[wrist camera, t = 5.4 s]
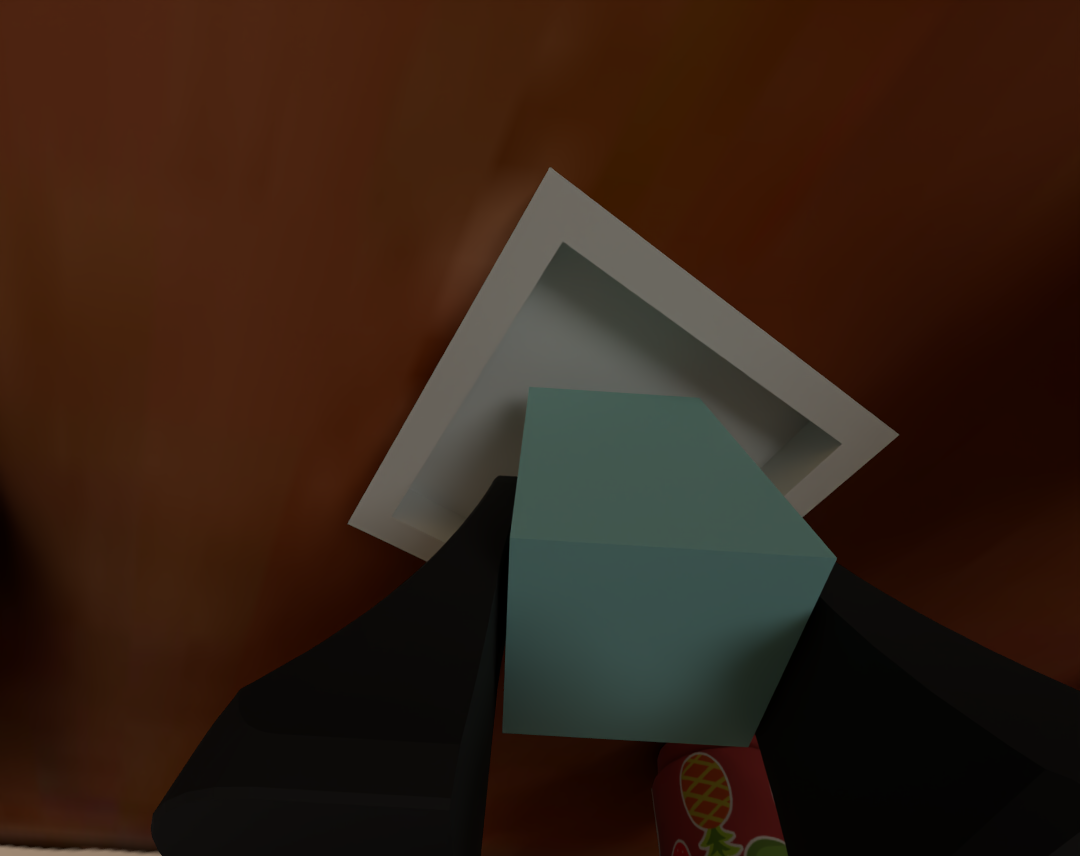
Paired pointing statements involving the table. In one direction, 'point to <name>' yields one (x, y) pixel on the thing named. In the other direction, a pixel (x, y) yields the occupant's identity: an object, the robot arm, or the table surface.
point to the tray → (601, 372)
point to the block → (649, 574)
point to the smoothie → (715, 802)
